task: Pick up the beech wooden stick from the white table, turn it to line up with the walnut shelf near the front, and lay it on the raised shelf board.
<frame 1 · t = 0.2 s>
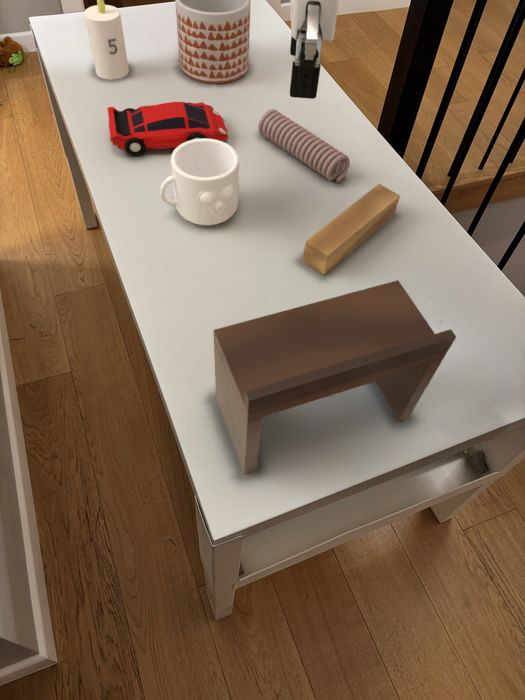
hand: (302, 75, 67), 21 cm above the table, tool pointing down, fingers open, 9 cm apart
toy car: (169, 137, 94), on the table
planter: (214, 67, 108), on the table
mug: (200, 212, 83), on the table
candle: (112, 72, 105), on the table
stick: (349, 237, 82), on the table
coil: (300, 157, 93), on the table
shelf: (312, 408, 64), on the table
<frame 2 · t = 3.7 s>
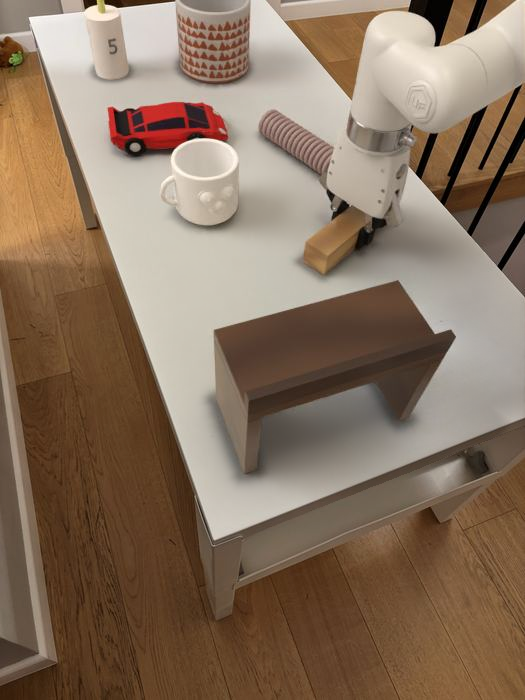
hand: (350, 236, 81), 0 cm above the table, tool pointing down, fingers closed on stick, 4 cm apart
stick: (349, 237, 82), on the table, touching gripper
everything else where it was.
when the fingers open (14 cm above the table, at t = 11.2 s): stick stays where it is, resting on shelf.
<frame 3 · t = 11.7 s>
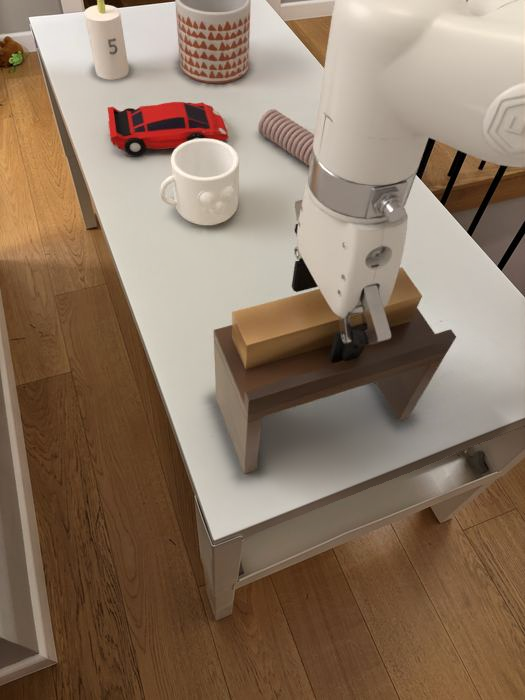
hand: (324, 320, 53), 15 cm above the table, tool pointing down, fingers open, 8 cm apart
stick: (323, 329, 54), point 14 cm above the table, touching shelf
everything else where it was.
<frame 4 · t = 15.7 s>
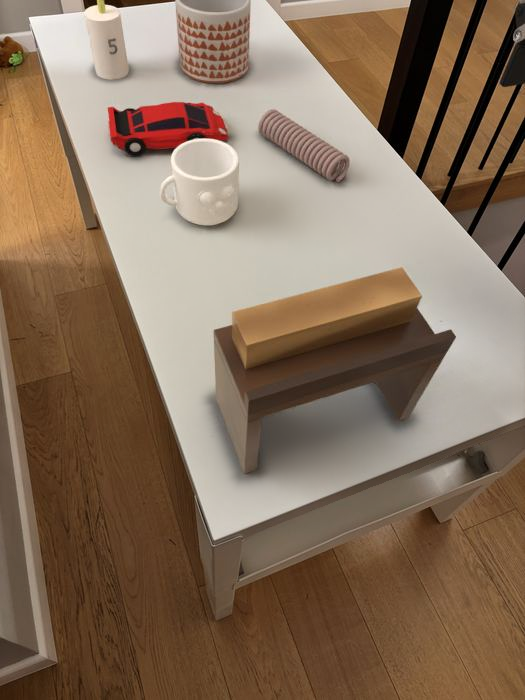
nothing on the table moved.
at the end: stick inside the target area on the shelf (0.4 cm from its centre), point 14.0 cm above the shelf's base; the gripper is holding nothing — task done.
